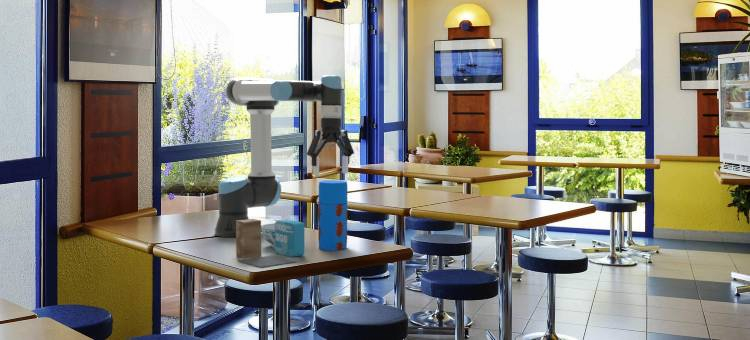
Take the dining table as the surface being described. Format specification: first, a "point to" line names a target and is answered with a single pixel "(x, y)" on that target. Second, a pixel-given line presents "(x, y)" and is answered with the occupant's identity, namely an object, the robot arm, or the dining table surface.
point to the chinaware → (269, 233)
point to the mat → (266, 261)
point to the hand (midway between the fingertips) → (330, 174)
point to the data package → (289, 238)
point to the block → (248, 238)
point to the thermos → (332, 215)
